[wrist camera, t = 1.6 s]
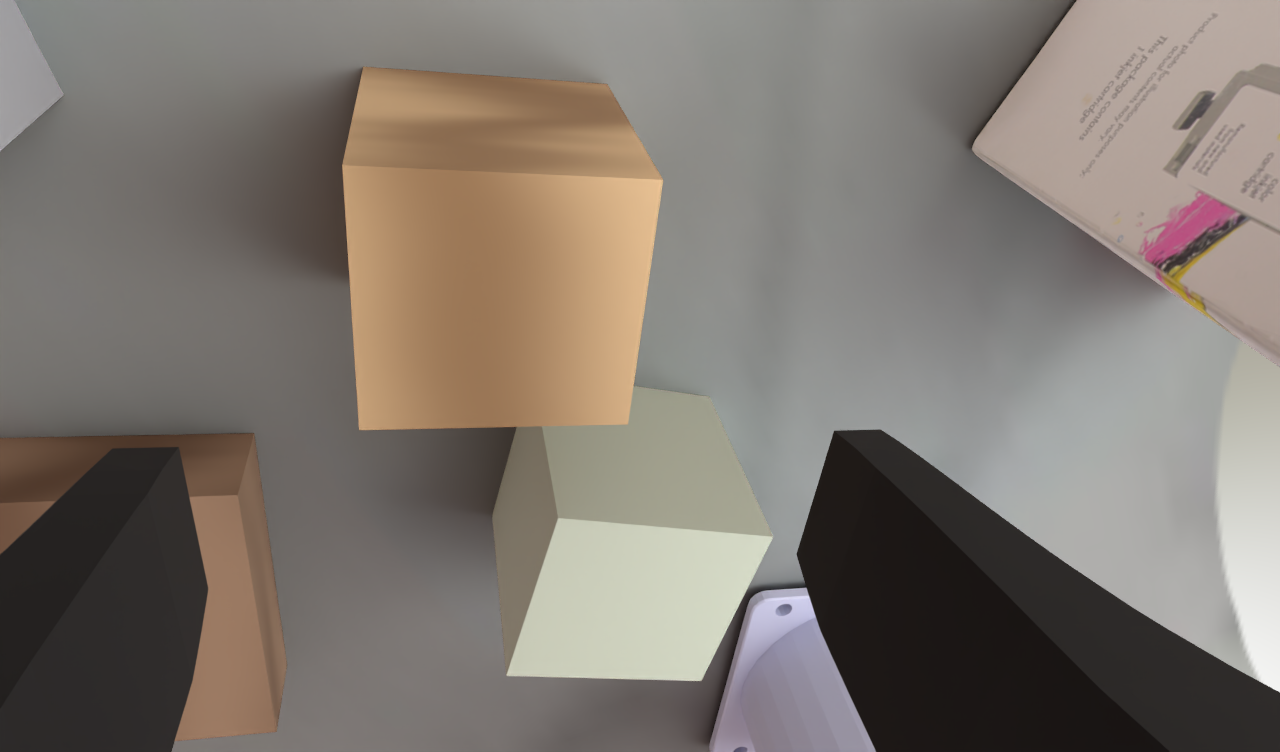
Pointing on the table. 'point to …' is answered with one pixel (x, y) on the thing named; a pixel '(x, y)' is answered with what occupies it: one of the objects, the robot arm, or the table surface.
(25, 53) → the slate block
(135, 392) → the table surface
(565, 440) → the sage block
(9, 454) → the tan flat block
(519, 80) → the oak block
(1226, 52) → the ink cartridge box
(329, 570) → the table surface
